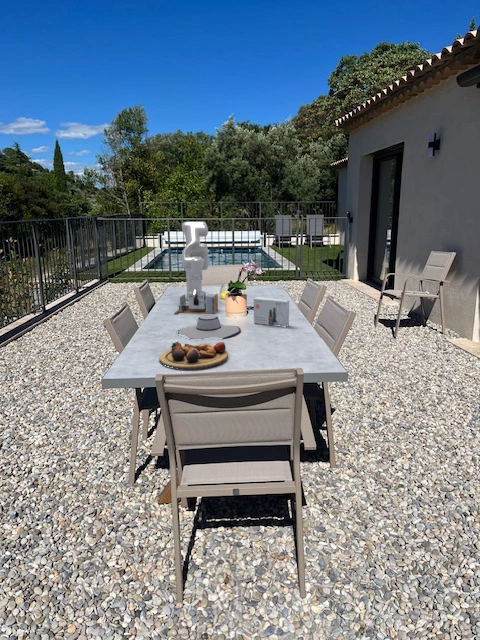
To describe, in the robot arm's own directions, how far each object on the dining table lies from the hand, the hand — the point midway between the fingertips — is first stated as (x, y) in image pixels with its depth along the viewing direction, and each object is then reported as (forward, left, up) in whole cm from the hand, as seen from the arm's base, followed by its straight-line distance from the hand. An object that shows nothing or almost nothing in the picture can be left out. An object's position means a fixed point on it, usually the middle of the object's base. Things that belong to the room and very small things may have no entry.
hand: (197, 303), depth 297 cm
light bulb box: (0, 0, -3) cm, 3 cm away
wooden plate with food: (+90, +20, -7) cm, 92 cm away
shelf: (0, -1, -6) cm, 6 cm away
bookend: (0, -11, -5) cm, 12 cm away
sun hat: (+43, +17, -7) cm, 47 cm away
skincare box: (+25, +51, -6) cm, 57 cm away
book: (-1, +9, -5) cm, 10 cm away
